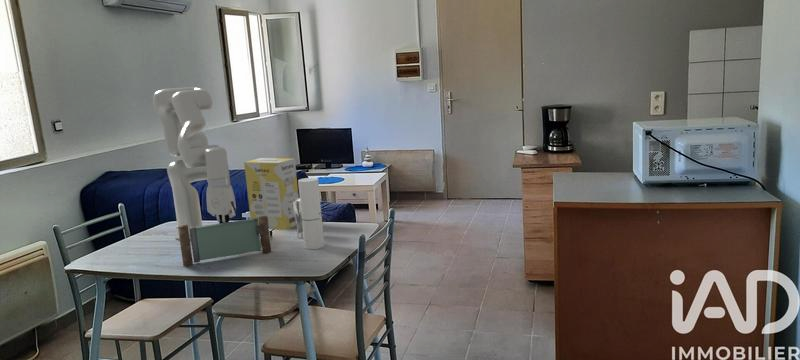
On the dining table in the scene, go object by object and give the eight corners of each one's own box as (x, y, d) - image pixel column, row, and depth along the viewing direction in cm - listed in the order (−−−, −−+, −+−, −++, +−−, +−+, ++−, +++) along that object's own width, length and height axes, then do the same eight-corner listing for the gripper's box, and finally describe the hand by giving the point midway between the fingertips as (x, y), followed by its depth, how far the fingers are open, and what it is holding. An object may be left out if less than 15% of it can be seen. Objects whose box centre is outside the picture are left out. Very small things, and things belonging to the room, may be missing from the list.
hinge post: (183, 267, 198) (177, 227, 195) (183, 264, 200) (177, 225, 198) (193, 265, 199) (187, 226, 196) (192, 262, 202) (187, 224, 199)
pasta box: (301, 223, 246) (294, 158, 241) (285, 229, 237) (278, 162, 231) (267, 220, 254) (260, 157, 249) (251, 226, 245) (244, 162, 240)
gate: (194, 263, 199) (189, 228, 197) (193, 261, 201) (189, 227, 199) (261, 251, 207) (257, 218, 205) (260, 250, 209) (256, 217, 206)
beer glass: (310, 239, 221) (306, 201, 218) (293, 239, 223) (289, 201, 220) (316, 233, 228) (313, 197, 225) (299, 233, 229) (296, 197, 226)
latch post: (259, 255, 205) (255, 220, 203) (257, 251, 209) (253, 217, 207) (272, 253, 207) (268, 218, 204) (270, 249, 211) (266, 215, 208)
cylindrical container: (327, 243, 214) (321, 177, 209) (318, 249, 207) (312, 181, 203) (310, 242, 216) (304, 177, 212) (301, 248, 210) (294, 181, 205)
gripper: (195, 183, 204) (202, 233, 207) (227, 185, 197) (233, 236, 200) (211, 179, 210) (217, 227, 214) (242, 181, 203) (248, 230, 207)
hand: (225, 232), depth 207 cm, fingers closed
